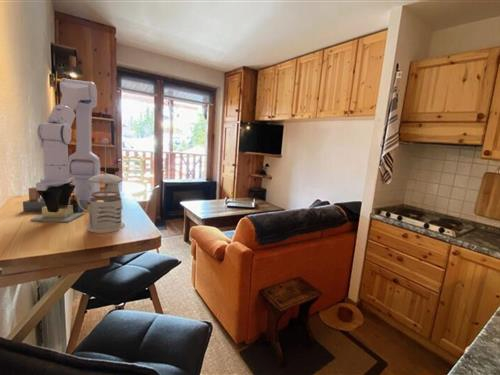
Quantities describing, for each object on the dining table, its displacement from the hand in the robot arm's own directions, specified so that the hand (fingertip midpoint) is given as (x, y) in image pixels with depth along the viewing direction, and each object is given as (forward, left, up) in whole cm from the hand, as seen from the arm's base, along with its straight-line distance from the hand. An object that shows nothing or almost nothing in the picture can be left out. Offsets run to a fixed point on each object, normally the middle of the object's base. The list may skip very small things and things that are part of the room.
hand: (58, 209), depth 75 cm
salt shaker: (-5, +13, -3) cm, 15 cm away
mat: (0, 0, -2) cm, 2 cm away
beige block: (0, 0, -2) cm, 2 cm away
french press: (+7, +15, -3) cm, 17 cm away
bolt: (-13, +9, -3) cm, 16 cm away
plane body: (-8, -5, -2) cm, 10 cm away
